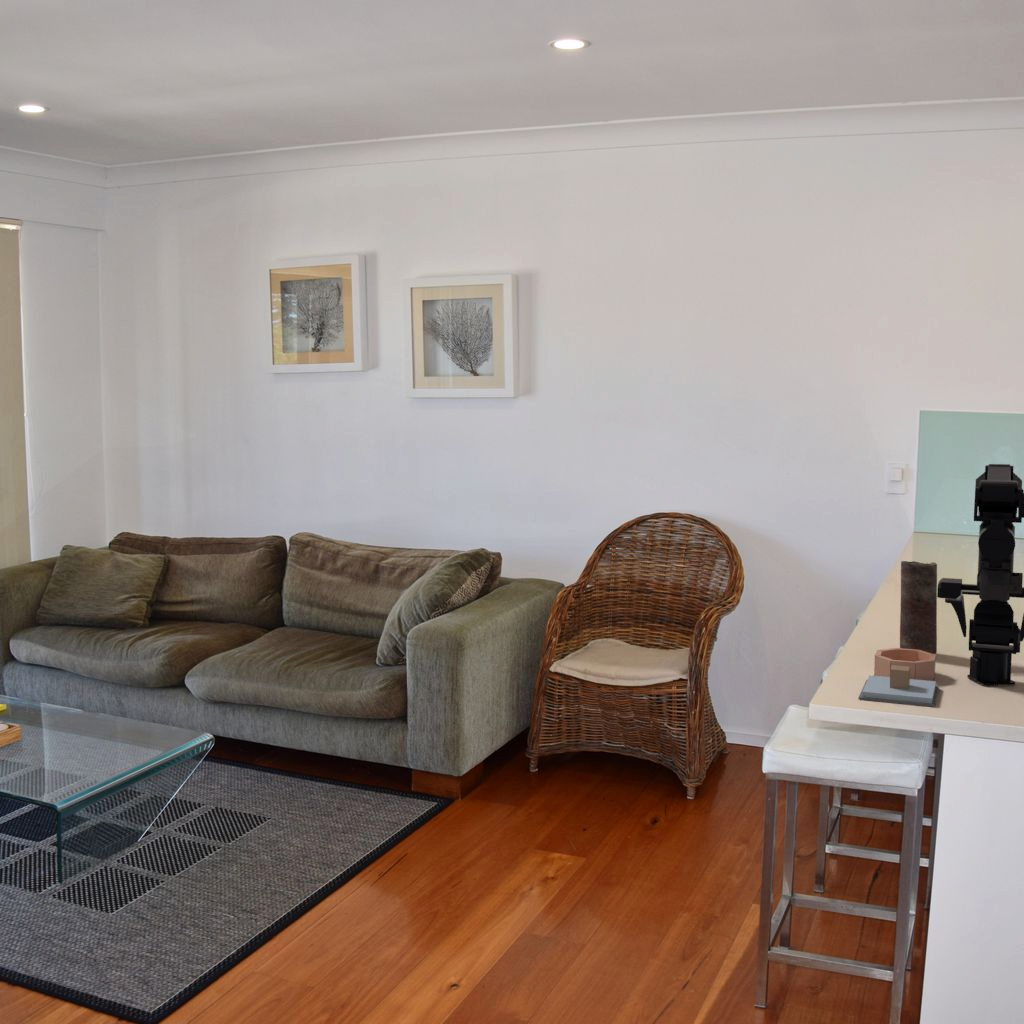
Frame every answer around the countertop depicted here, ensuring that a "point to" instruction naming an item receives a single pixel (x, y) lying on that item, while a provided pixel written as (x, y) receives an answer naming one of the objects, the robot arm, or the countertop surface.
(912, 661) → the dish
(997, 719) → the countertop surface
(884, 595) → the countertop surface
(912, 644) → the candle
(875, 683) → the lid
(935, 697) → the mat
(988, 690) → the countertop surface
